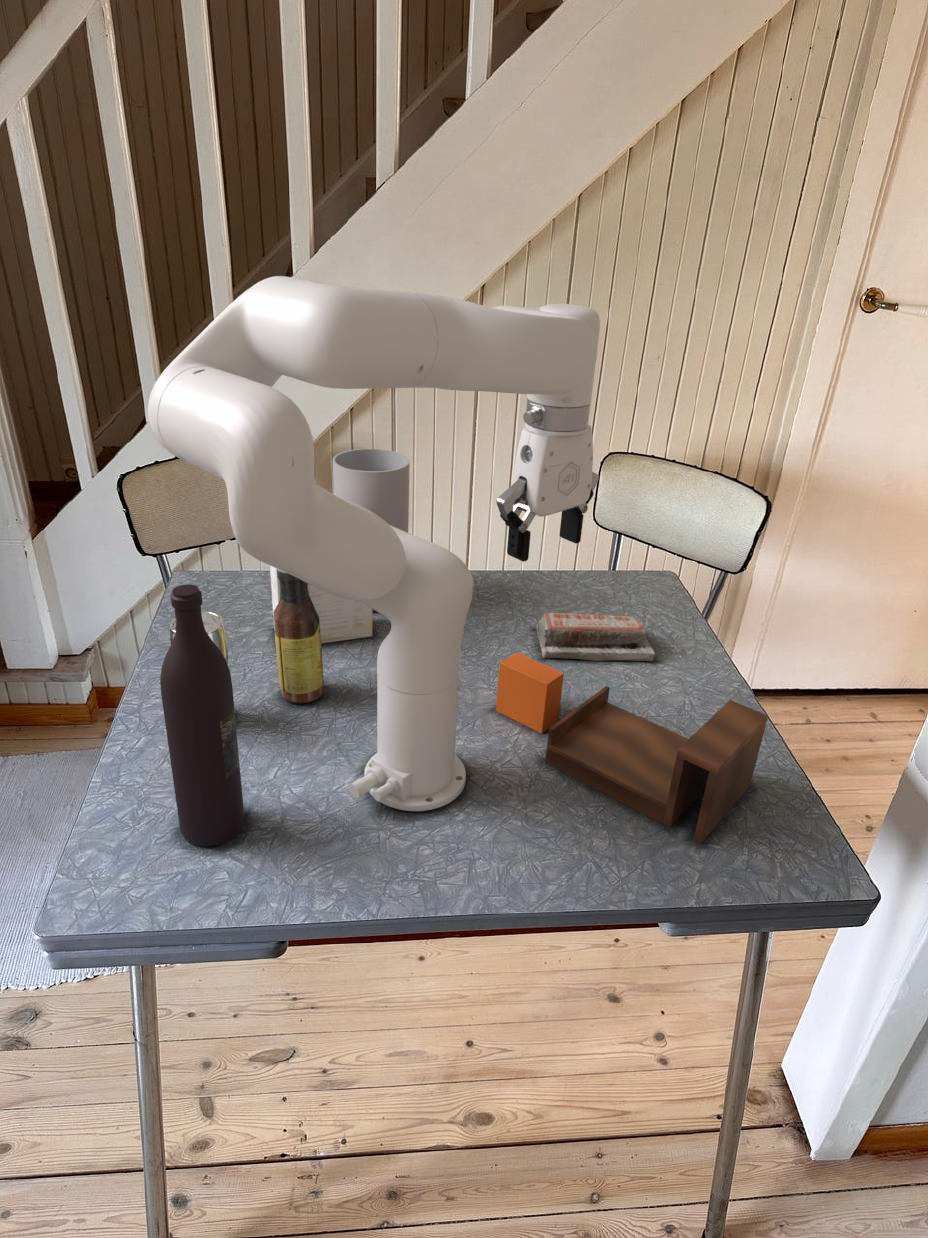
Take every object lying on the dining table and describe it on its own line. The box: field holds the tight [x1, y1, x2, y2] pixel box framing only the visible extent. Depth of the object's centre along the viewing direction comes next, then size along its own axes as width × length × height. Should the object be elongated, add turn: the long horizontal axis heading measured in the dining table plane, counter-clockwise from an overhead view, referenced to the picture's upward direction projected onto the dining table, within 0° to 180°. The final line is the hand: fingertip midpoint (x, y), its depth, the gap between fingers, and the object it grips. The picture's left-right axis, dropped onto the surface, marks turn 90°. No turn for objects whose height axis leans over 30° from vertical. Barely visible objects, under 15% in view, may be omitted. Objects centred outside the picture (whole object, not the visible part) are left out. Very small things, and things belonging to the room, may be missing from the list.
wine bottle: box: [159, 584, 245, 847], centre depth 89 cm, size 7×7×30 cm
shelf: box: [544, 685, 769, 844], centre depth 105 cm, size 14×22×11 cm, turn 50°
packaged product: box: [535, 612, 656, 662], centre depth 136 cm, size 18×5×10 cm
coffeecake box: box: [269, 565, 374, 644], centre depth 132 cm, size 15×7×20 cm, turn 111°
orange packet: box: [495, 652, 565, 734], centre depth 116 cm, size 4×8×8 cm, turn 50°
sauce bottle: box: [273, 569, 325, 704], centre depth 116 cm, size 6×6×20 cm
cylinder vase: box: [332, 448, 411, 612], centre depth 143 cm, size 12×12×25 cm
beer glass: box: [169, 610, 229, 666], centre depth 110 cm, size 7×7×15 cm
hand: (544, 548), depth 108 cm, fingers open, 9 cm apart
